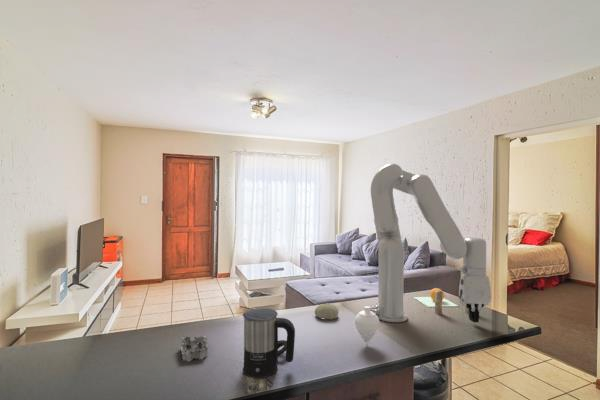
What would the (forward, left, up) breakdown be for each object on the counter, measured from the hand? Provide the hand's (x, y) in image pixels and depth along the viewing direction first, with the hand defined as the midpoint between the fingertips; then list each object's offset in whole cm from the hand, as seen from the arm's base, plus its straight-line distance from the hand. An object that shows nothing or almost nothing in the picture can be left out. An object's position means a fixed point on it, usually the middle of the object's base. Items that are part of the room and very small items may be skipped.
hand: (473, 321), depth 118 cm
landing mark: (0, +28, -2) cm, 28 cm away
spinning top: (-45, -14, -2) cm, 47 cm away
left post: (-6, +13, -2) cm, 15 cm away
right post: (+7, +13, -2) cm, 15 cm away
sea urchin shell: (-53, +12, -2) cm, 54 cm away
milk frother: (-76, -22, -2) cm, 79 cm away
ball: (+1, +29, +2) cm, 29 cm away
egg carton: (-97, -15, -2) cm, 98 cm away
